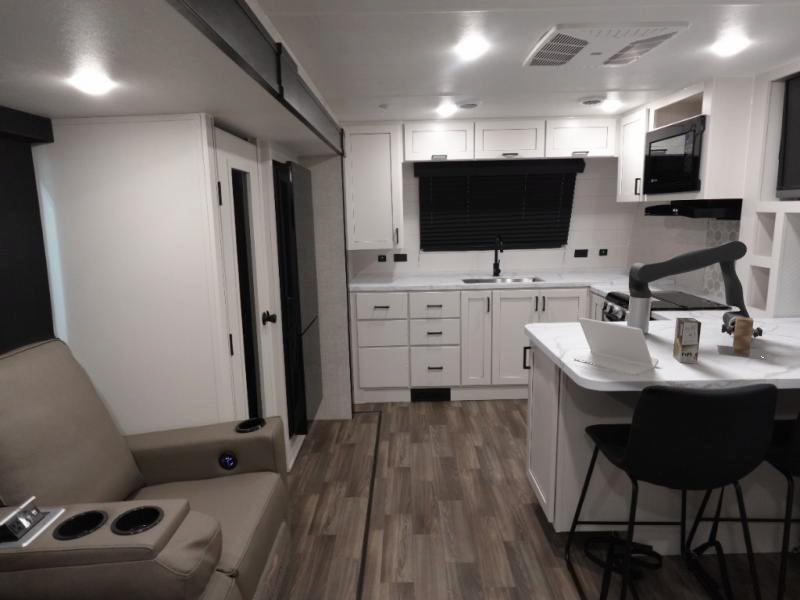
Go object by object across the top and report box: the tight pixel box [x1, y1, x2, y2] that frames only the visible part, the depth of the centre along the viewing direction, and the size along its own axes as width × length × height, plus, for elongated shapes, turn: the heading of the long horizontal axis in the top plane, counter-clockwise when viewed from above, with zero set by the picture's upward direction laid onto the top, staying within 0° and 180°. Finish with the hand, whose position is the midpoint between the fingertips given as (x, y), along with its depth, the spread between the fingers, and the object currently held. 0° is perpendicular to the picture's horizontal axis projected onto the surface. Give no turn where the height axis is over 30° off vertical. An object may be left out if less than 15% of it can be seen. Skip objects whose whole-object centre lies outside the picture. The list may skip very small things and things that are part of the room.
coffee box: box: [672, 317, 702, 364], centre depth 199 cm, size 9×6×16 cm
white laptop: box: [573, 317, 659, 376], centre depth 196 cm, size 18×25×17 cm
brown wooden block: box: [732, 317, 754, 354], centre depth 209 cm, size 6×6×14 cm
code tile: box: [716, 344, 767, 361], centre depth 210 cm, size 16×16×1 cm
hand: (742, 333), depth 209 cm, fingers open, 8 cm apart
